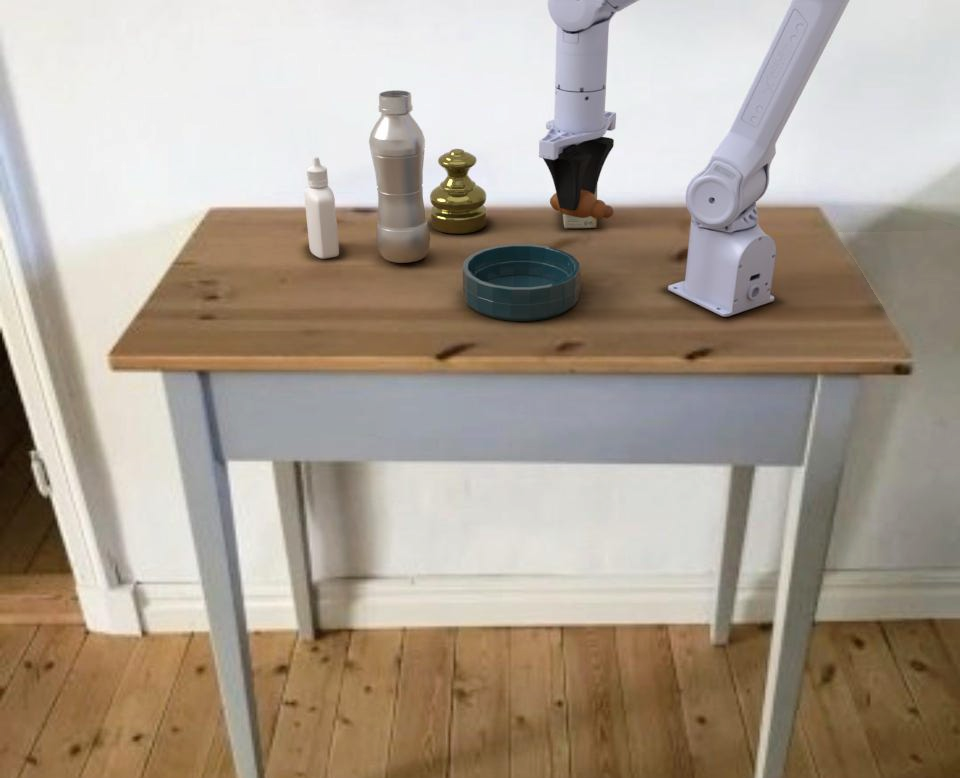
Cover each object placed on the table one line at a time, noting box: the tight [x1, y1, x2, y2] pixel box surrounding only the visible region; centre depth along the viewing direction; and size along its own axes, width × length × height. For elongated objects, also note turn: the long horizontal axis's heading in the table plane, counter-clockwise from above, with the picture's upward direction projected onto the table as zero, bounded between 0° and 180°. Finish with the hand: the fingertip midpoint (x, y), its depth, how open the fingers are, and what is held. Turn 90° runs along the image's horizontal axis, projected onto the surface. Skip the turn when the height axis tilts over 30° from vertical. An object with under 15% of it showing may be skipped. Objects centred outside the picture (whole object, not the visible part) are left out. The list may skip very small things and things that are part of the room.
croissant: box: [549, 190, 614, 220], centre depth 127 cm, size 4×8×3 cm, turn 56°
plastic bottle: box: [368, 89, 431, 264], centre depth 128 cm, size 6×7×20 cm
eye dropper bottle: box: [303, 156, 340, 260], centre depth 132 cm, size 4×6×12 cm
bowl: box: [462, 243, 581, 322], centre depth 122 cm, size 13×13×4 cm
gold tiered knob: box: [429, 148, 487, 235], centre depth 140 cm, size 7×7×10 cm
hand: (576, 204), depth 127 cm, fingers closed on croissant, 3 cm apart
